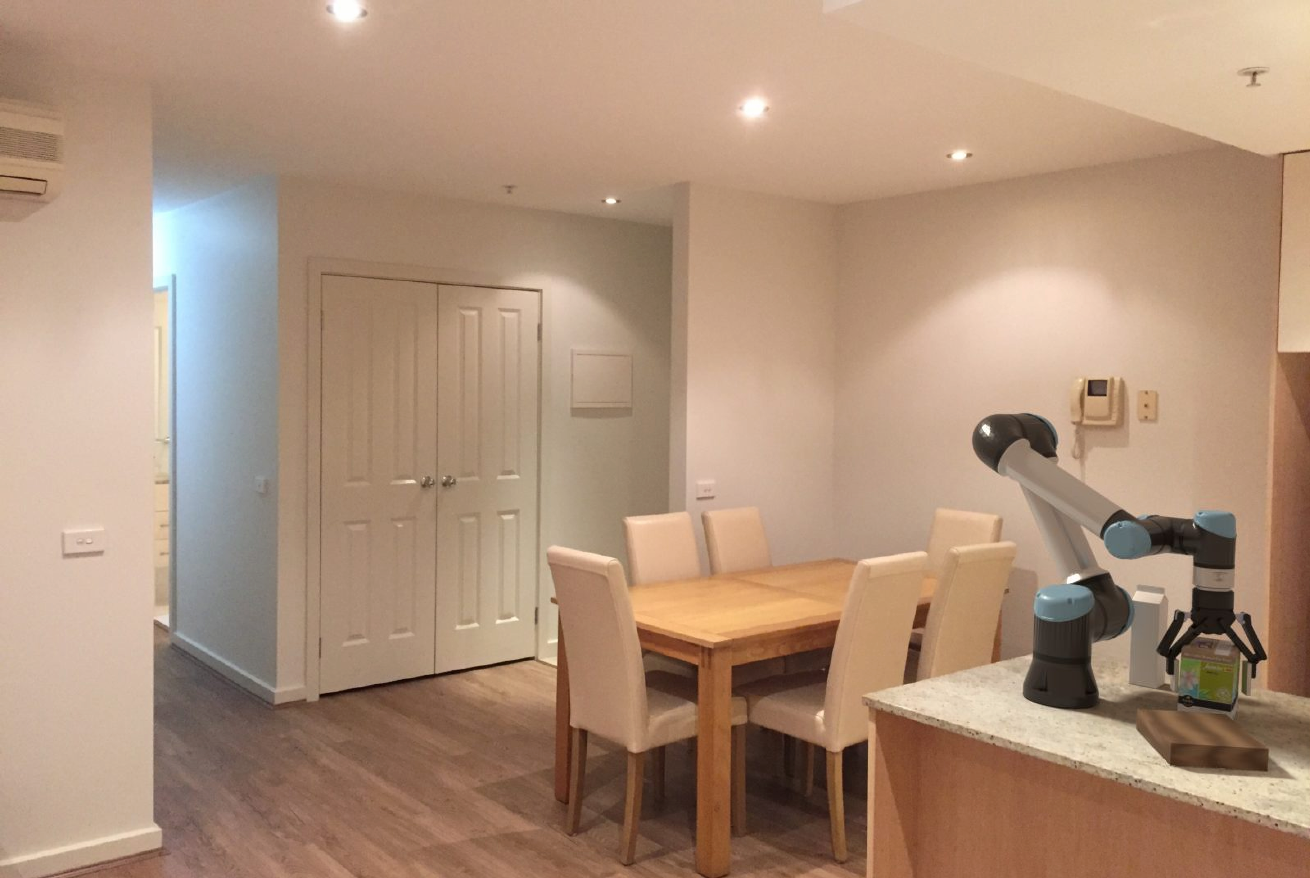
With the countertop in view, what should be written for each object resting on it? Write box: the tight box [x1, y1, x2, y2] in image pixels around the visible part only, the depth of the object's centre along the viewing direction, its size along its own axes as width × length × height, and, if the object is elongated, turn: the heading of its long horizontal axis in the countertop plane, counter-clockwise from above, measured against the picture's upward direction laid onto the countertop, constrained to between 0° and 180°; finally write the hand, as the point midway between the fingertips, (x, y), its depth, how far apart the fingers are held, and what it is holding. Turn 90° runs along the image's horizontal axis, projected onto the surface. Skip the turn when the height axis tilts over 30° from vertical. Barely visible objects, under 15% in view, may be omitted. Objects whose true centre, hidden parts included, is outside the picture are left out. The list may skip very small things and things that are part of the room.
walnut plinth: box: [1136, 708, 1270, 773], centre depth 198 cm, size 16×20×4 cm
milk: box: [1128, 583, 1169, 689], centre depth 242 cm, size 6×6×22 cm
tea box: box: [1176, 636, 1242, 721], centre depth 219 cm, size 15×10×15 cm
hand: (1209, 692), depth 219 cm, fingers open, 13 cm apart
